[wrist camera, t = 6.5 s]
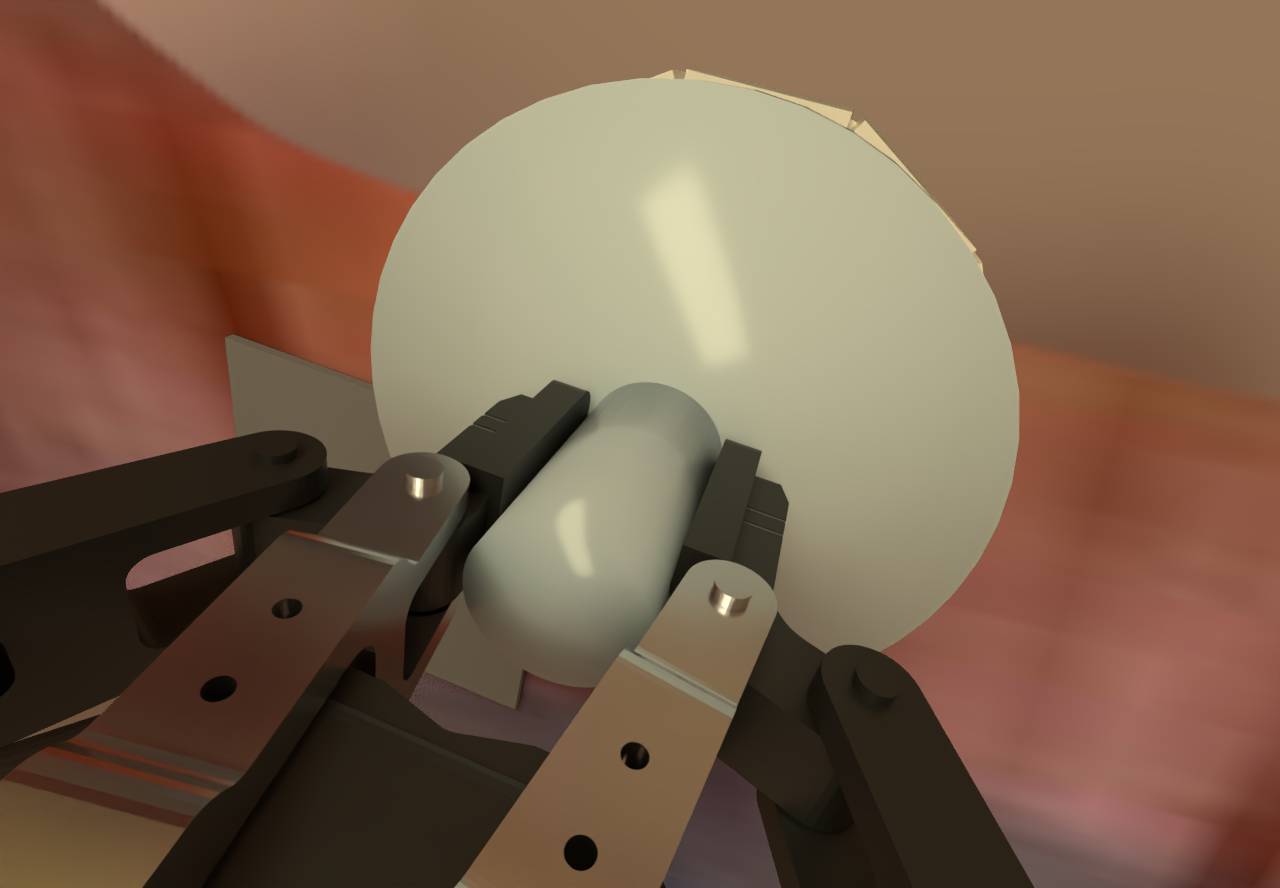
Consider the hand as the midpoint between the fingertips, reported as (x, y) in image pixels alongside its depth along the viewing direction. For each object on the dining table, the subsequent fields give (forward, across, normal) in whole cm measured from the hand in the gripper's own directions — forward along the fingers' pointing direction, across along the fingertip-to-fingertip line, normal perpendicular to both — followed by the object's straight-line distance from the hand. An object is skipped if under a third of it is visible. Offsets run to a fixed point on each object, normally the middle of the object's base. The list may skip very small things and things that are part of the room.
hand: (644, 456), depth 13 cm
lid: (+2, 0, 0) cm, 2 cm away
